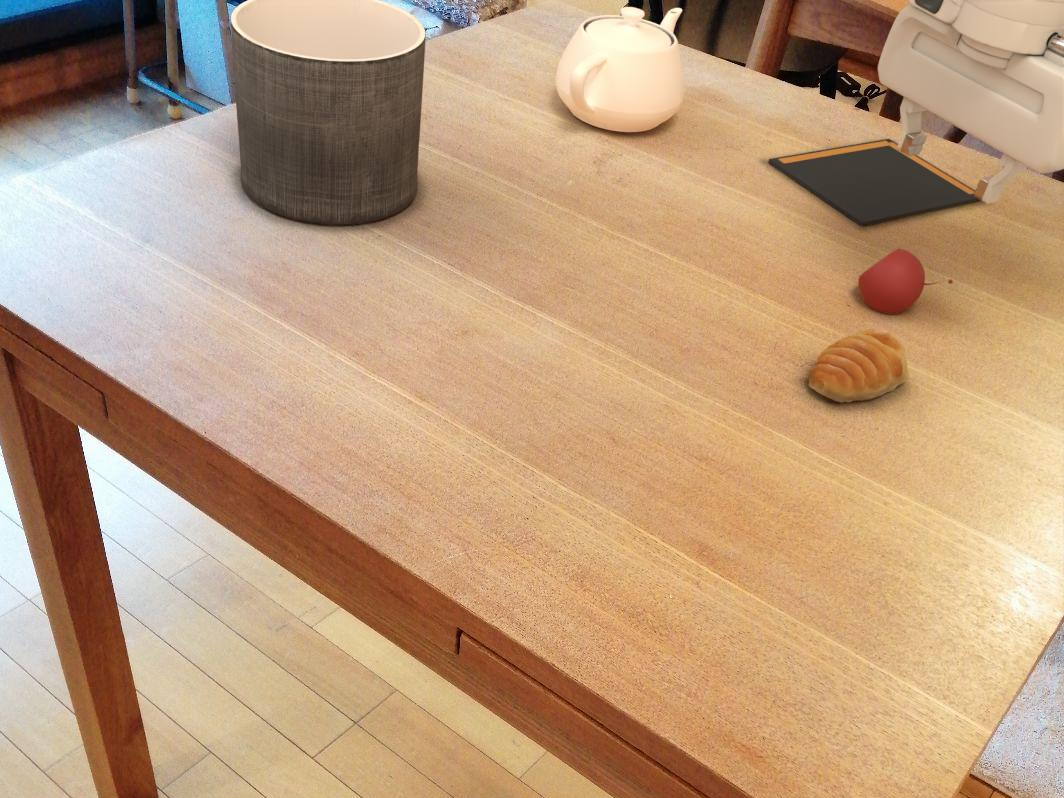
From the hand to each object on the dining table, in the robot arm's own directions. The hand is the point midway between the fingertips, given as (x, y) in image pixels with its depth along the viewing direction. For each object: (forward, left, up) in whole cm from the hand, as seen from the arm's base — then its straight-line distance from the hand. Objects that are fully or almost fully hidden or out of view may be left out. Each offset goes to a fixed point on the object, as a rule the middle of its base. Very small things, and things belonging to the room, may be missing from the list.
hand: (945, 175), depth 98 cm
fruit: (0, 0, -14) cm, 14 cm away
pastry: (+13, +8, -14) cm, 21 cm away
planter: (+42, -40, -14) cm, 59 cm away
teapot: (+1, -47, -14) cm, 49 cm away
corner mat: (-19, -22, -14) cm, 32 cm away
